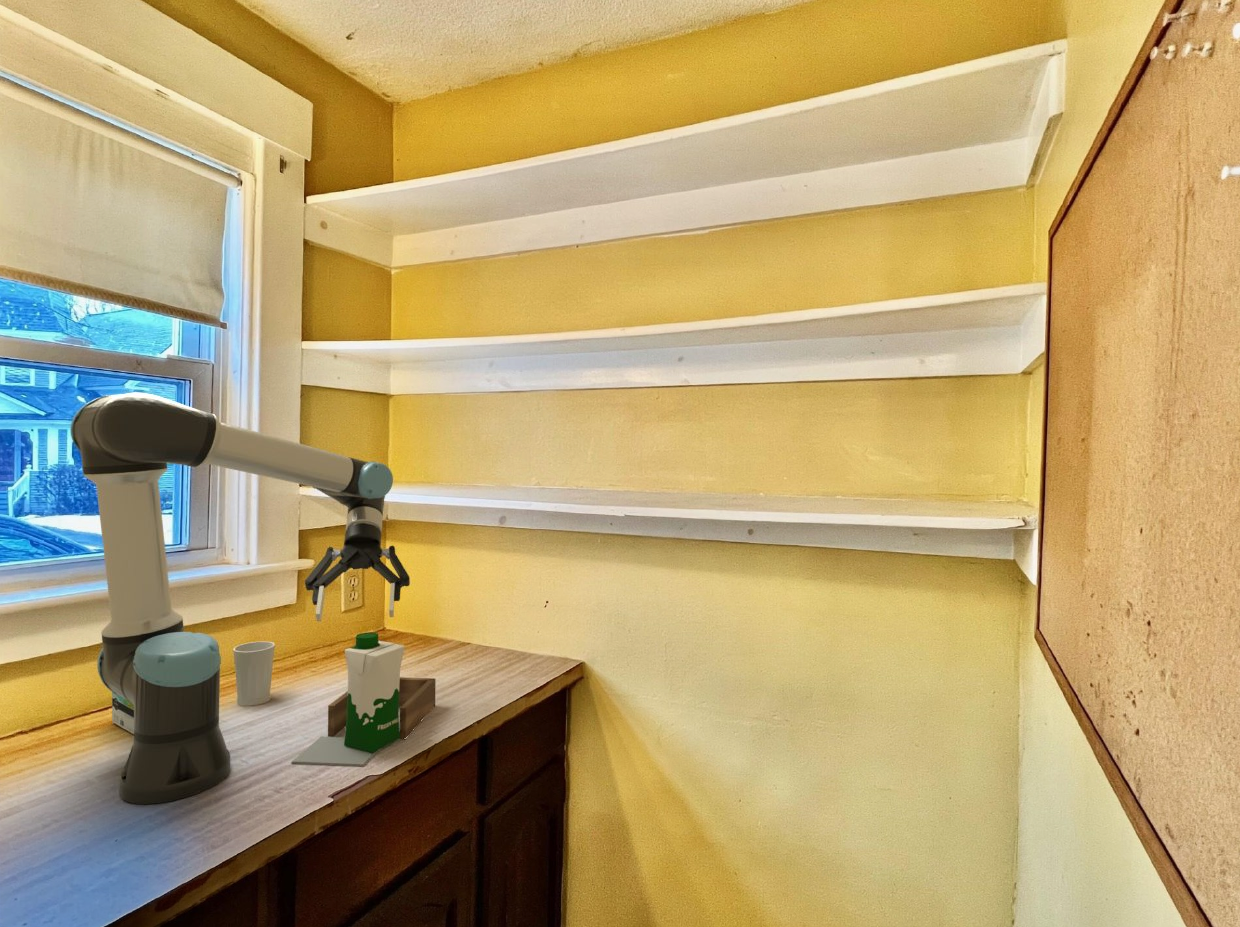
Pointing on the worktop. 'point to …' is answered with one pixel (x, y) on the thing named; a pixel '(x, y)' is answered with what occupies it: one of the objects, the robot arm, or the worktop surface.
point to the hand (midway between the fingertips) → (355, 615)
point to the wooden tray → (412, 700)
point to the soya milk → (372, 693)
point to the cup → (253, 672)
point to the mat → (332, 753)
